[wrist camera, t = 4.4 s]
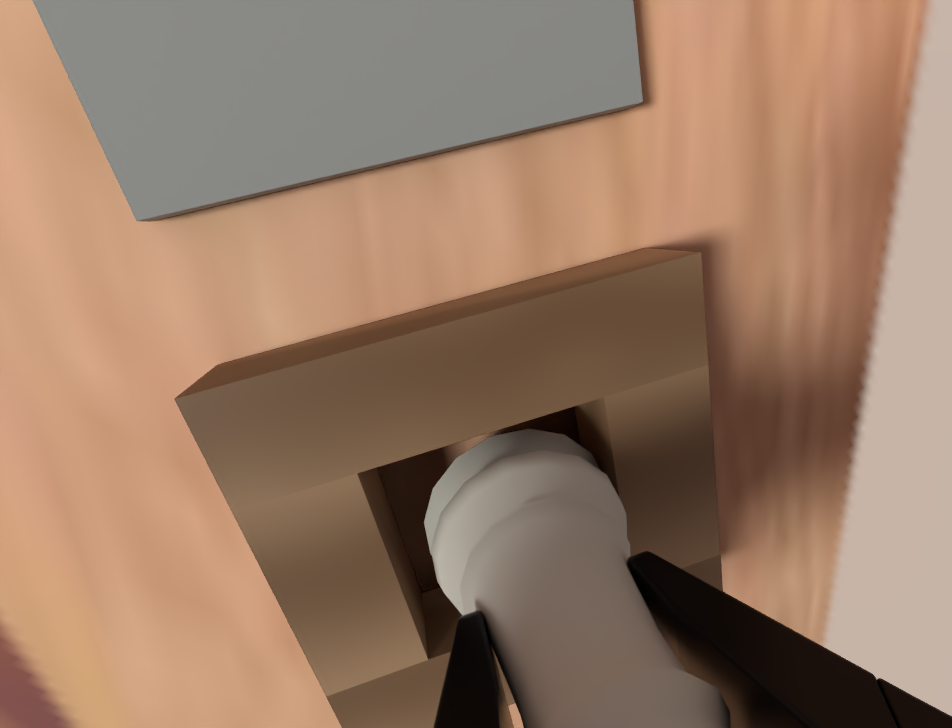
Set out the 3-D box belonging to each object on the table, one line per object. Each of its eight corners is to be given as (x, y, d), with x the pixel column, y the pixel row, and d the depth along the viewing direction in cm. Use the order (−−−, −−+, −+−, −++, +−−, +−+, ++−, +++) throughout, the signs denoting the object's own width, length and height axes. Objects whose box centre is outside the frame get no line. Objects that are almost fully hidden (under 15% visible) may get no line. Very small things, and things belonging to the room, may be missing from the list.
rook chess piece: (526, 381, 10) (960, 856, 2) (631, 496, 11) (1103, 1013, 4) (381, 511, 10) (364, 1312, 3) (503, 607, 12) (713, 1291, 4)
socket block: (678, 569, 14) (724, 623, 12) (363, 682, 13) (359, 762, 11) (644, 248, 10) (701, 251, 9) (216, 364, 9) (174, 399, 8)
